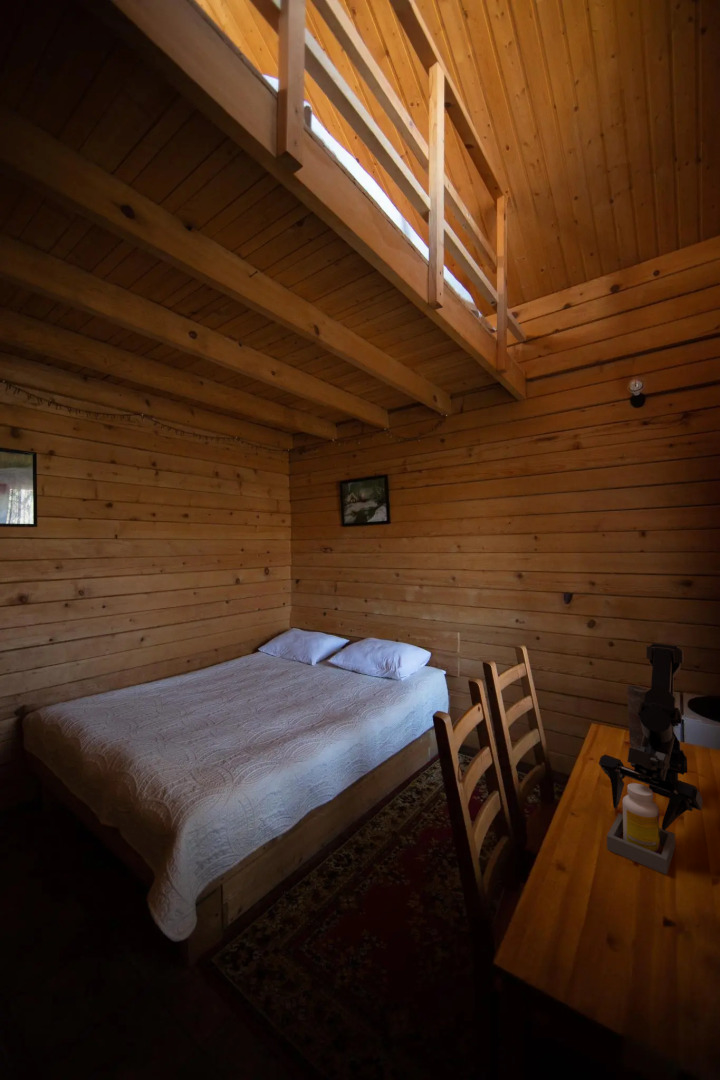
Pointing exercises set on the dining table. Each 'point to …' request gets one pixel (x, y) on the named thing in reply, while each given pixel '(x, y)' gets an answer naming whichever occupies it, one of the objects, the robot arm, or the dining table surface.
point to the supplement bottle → (641, 818)
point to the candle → (635, 714)
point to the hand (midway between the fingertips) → (638, 818)
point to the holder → (639, 853)
